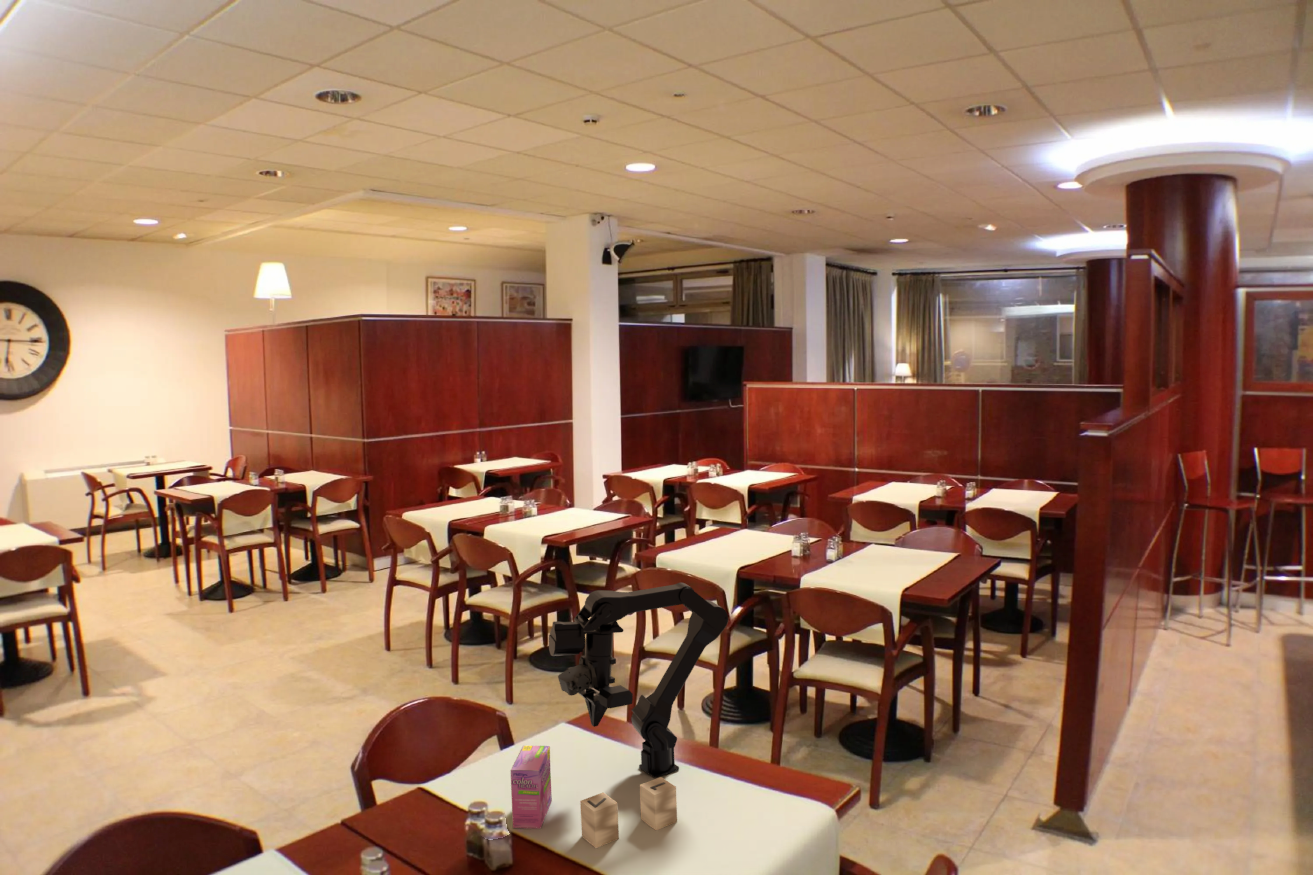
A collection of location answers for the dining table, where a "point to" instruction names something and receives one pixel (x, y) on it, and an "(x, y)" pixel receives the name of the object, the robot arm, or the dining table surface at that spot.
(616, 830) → the block seven
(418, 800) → the dining table surface
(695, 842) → the dining table surface
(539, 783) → the box
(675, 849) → the dining table surface
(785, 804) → the dining table surface
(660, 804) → the block one
